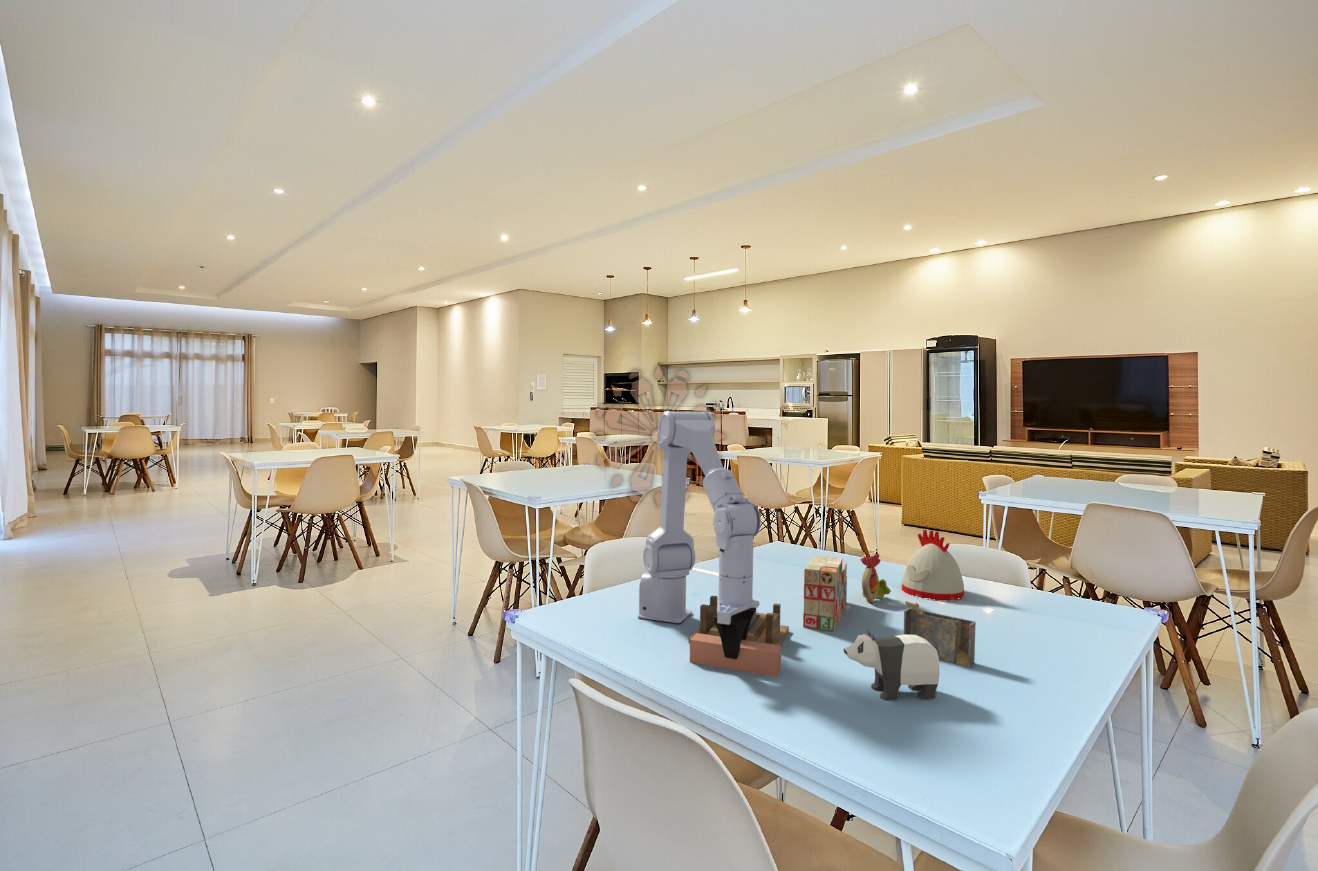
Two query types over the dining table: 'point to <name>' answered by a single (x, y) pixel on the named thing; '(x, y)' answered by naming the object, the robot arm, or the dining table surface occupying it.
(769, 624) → the jig
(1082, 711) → the dining table surface
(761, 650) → the terracotta rectangular bar
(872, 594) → the bird rattle
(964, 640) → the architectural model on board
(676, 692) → the dining table surface
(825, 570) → the stack of blocks
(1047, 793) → the dining table surface
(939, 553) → the kitchen timer
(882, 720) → the dining table surface
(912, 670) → the giant panda
